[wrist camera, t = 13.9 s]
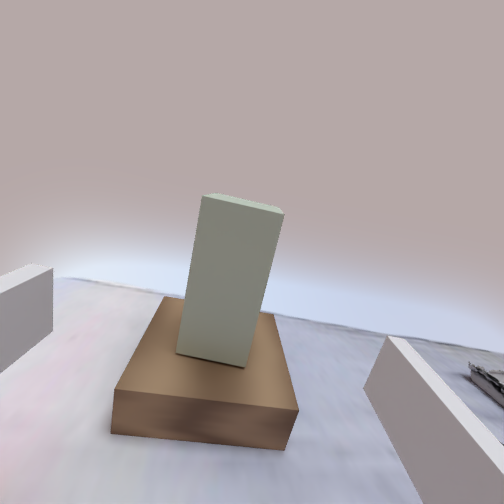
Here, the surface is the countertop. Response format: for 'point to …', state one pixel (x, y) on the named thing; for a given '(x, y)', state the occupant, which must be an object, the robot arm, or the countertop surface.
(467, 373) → the countertop surface
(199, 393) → the walnut block
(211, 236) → the sage block
